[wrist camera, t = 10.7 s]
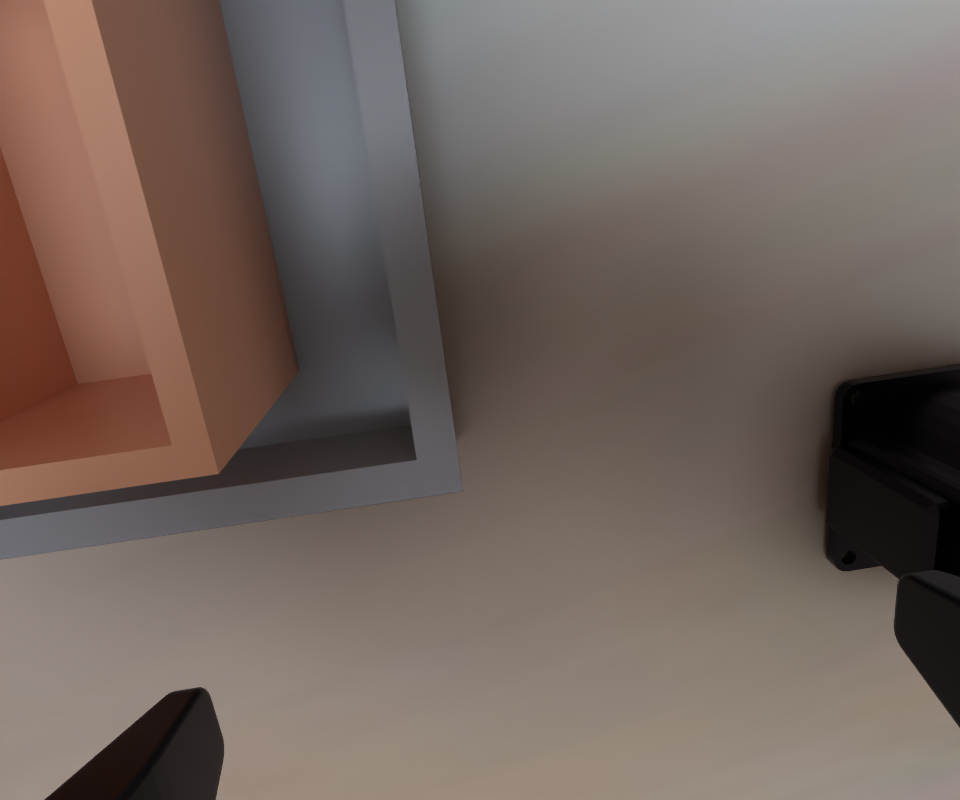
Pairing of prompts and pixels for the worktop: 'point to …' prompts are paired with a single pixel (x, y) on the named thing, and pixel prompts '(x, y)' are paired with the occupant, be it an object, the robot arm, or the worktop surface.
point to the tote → (129, 250)
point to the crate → (313, 295)
